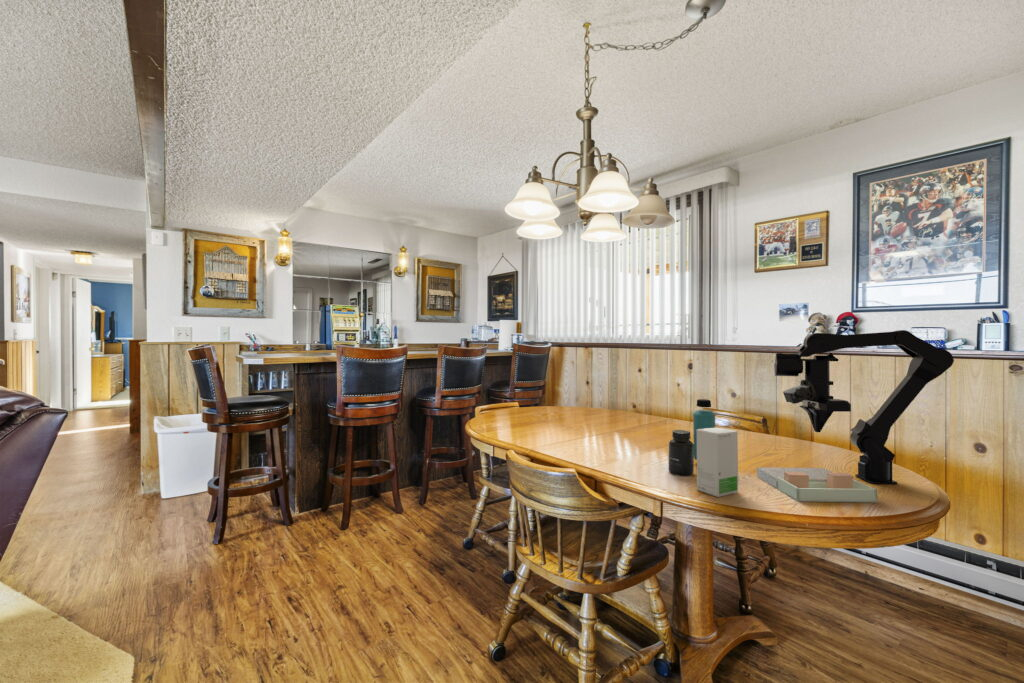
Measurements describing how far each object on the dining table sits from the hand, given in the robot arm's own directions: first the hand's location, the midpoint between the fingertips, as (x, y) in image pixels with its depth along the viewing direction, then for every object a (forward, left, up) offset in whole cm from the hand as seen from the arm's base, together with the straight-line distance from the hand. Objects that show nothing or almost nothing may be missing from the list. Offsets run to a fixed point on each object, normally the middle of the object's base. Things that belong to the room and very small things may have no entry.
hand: (817, 432), depth 122 cm
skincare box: (+34, +15, -12) cm, 39 cm away
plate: (+9, +8, -12) cm, 17 cm away
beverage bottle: (+28, -9, -12) cm, 32 cm away
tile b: (+15, +15, -9) cm, 23 cm away
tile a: (+5, +15, -9) cm, 18 cm away
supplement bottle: (+38, 0, -12) cm, 40 cm away
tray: (+9, +17, -12) cm, 23 cm away
